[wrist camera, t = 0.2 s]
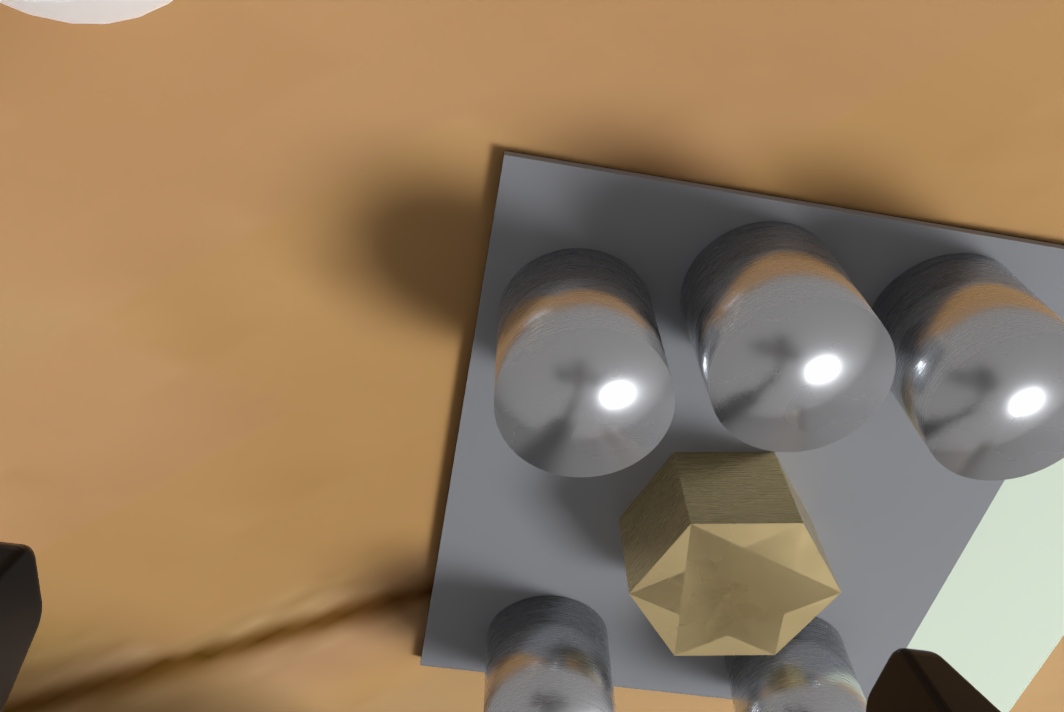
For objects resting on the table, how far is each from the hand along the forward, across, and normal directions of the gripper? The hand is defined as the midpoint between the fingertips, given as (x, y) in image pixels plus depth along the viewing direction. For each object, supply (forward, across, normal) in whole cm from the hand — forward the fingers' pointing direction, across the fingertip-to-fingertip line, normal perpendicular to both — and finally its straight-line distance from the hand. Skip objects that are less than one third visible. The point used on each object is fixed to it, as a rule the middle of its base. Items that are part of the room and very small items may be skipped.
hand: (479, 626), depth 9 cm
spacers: (+14, -7, +8) cm, 18 cm away
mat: (+14, -11, +8) cm, 20 cm away
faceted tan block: (+14, -8, +9) cm, 18 cm away
